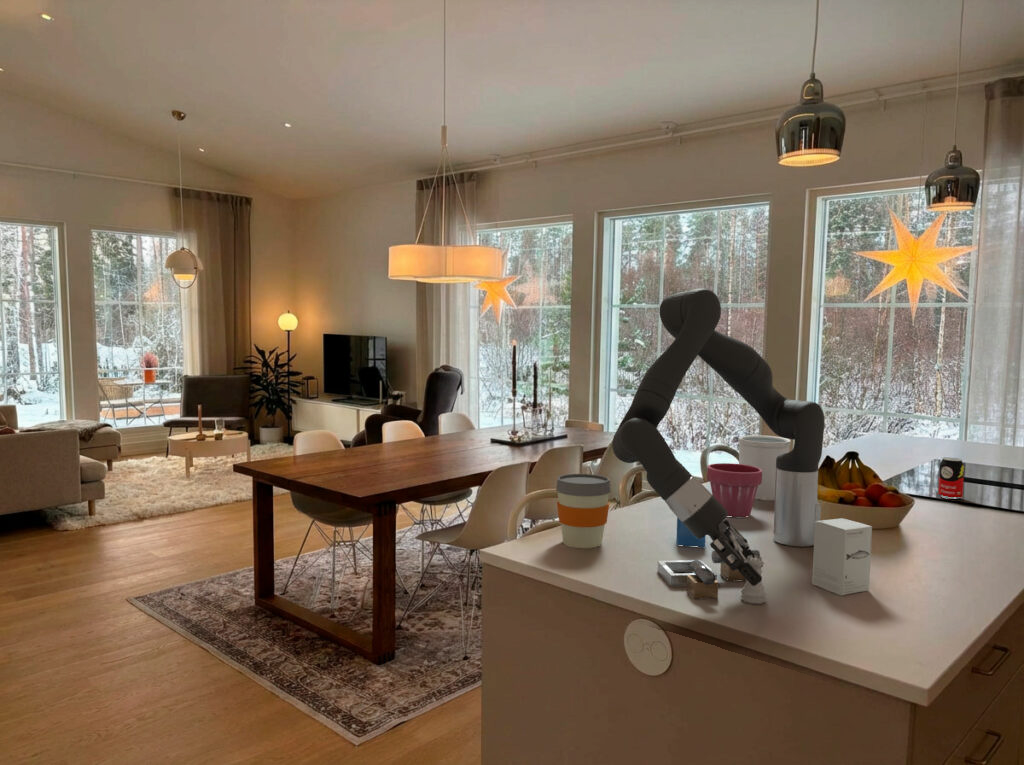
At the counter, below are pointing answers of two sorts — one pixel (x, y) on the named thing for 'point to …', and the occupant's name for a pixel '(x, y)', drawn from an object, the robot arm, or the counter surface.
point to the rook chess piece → (755, 592)
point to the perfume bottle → (687, 536)
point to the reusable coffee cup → (583, 508)
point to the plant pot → (734, 486)
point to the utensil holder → (763, 459)
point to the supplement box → (842, 556)
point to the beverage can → (951, 477)
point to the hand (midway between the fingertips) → (759, 575)
